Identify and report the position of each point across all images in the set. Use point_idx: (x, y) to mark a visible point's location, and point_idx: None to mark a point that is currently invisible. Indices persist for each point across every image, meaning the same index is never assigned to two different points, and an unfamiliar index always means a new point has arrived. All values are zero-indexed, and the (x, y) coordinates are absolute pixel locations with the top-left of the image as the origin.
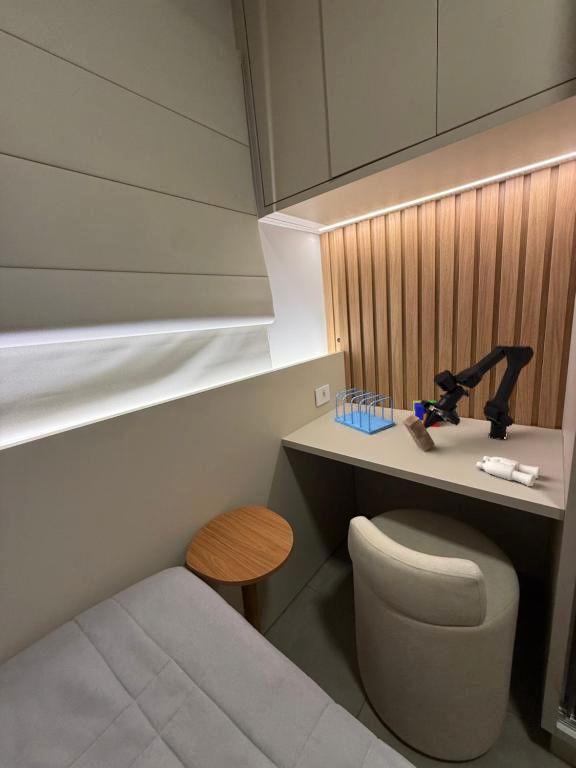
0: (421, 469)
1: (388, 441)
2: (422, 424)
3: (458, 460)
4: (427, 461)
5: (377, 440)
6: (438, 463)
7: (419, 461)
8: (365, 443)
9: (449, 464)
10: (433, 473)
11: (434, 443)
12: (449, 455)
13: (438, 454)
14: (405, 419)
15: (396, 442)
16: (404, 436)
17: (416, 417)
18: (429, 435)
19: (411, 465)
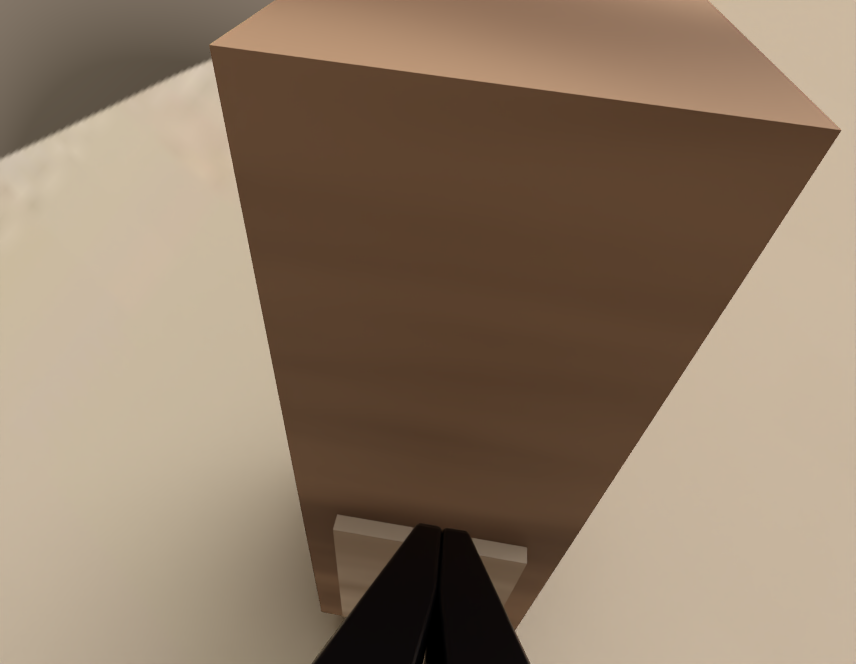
0: (118, 170)
1: (774, 282)
2: (268, 298)
3: (2, 628)
4: (190, 317)
5: (841, 199)
6: (97, 379)
7: (234, 253)
8: (809, 66)
9: (13, 460)
10: (7, 207)
11: (321, 605)
12: (143, 639)
13: (235, 540)
14: (720, 14)
15: (716, 341)
16: (851, 550)
17: (421, 61)
18: (308, 526)
19: (219, 147)
